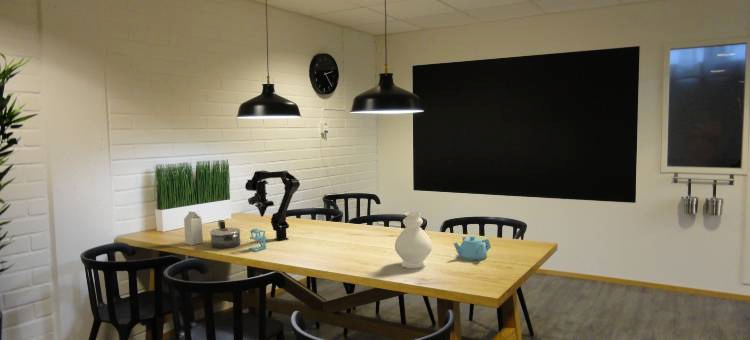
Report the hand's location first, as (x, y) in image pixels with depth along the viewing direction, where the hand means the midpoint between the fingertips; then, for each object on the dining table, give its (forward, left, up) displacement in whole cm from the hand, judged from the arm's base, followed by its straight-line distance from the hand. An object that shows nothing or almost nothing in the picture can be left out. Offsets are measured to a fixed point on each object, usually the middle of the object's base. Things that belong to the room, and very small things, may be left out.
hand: (262, 216), depth 324 cm
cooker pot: (0, +25, -13) cm, 28 cm away
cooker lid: (+1, +25, -6) cm, 26 cm away
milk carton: (+18, +36, -13) cm, 42 cm away
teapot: (-125, -43, -13) cm, 133 cm away
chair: (-26, +19, -13) cm, 35 cm away
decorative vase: (-112, -14, -13) cm, 114 cm away
